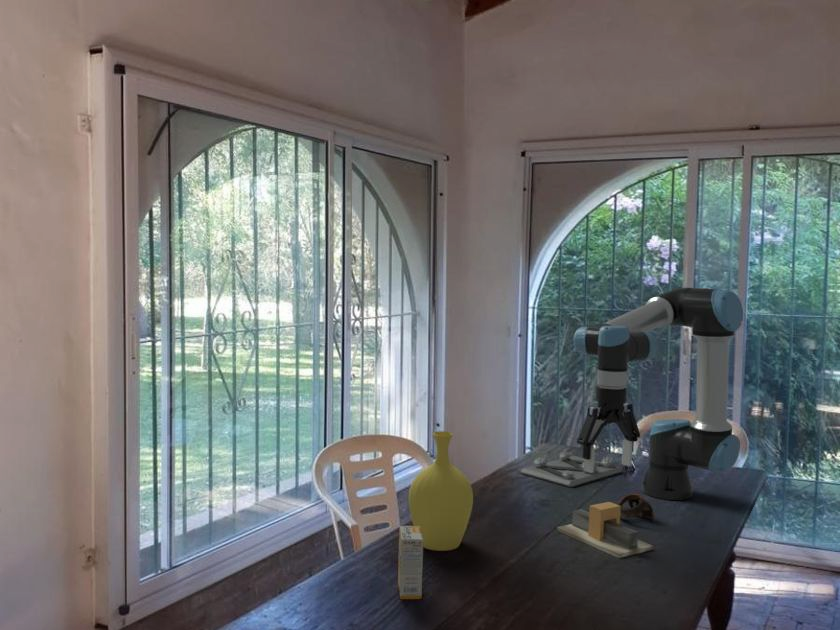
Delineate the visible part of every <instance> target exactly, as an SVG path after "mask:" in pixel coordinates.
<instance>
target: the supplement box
mask: <svg viewBox="0 0 840 630" xmlns="http://www.w3.org/2000/svg"><path fill="white" fill-rule="evenodd" d="M398 530H399V531H398V532H399V535H398V537H399V538H398V562H397V563H398V564H397V565H398V566H397V567H398V568H397V569H398V570H397V571H398V573H397V586H398V590H399V598H400V599H401V600H420V599H422V598H423V597H422V595H423V590H422V589H423V564H424V562H423V560H424V559H423V558H424V547H423V537H422V532H421V528H420V526H413V525H400V526H399V529H398Z"/></svg>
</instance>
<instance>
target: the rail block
mask: <svg viewBox="0 0 840 630" xmlns="http://www.w3.org/2000/svg"><path fill="white" fill-rule="evenodd" d="M556 532H559V533H561V534H564V535H566V536H568V537H570V538H572V539H575V540H577V541H578V542H581V543H584V544H586V545H588V546H590V547H593V548H594V549H597V550H600V551H601V552H604V553H606V554H609V555H610V556H613V557H615V558H617V559H621V558H624V557H625V558H626V557H628V556H633V555H636V554H641V553H645V552H648V551H649V552H650V551H653V549H654V546H653V545H652V544H649V543H647V542H645V541H642V540H640V539H639V531H637V530H634V529H632V528H630V527H627V526H624V525H622V524H621V523H620V524H617V523H615V522H612V521H610V520H605V521H604V529H603V540H601V541H599V540H597V539H594V538H592V537H590V536H588V532H589V511H586V510H584V509H581V508H580V509H576V510H572V523H571V524H565V525H561V526H556Z"/></svg>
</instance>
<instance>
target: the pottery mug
mask: <svg viewBox="0 0 840 630" xmlns="http://www.w3.org/2000/svg"><path fill="white" fill-rule="evenodd" d="M625 503H628V505H629V508H625V507H623V505H624V504H625ZM617 505H619V506H621V509H620V520H622V518H624V519H630V518H635V517H640V518H642V517H647V518H650V519H652V522H653V523H655V522H656V520H655V513H654V510H653V506H652V504H651V503H650V502H649V500H647V499H646V498H644V497H643V496H642V495H641V494H640V493H635V492H633V493H629V494H627V495H625V496H623V497H622V498H621V499H620V500H619V501H618V504H617Z"/></svg>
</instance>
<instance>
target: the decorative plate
mask: <svg viewBox="0 0 840 630" xmlns="http://www.w3.org/2000/svg"><path fill="white" fill-rule="evenodd" d="M602 458H603V459H601V461H597V460H594V473H590V472H587V471H584V458H583V457H580V456H578V455H577V456H576V455H571V454H569V452H568V451H567V452H565V451H563V452H562V451H561V453H560V455H558V459H555V460H551V461H548V460H546V458H544V457H543V458H542V457H538V458H537V457H535V459H534V461H533V465H532V466H526V467H523V468H522V469H521V470H520V473H521V474H522V475H525V476H527V477H530V478H531V477H532V478H535V479H539V480H543V481H546V482H548V483H549V482H550V483H553V484H556V485H560V486H563V487H567V488H574V487H578V486H581V485H584V484H587V483H592V482H595V481H598V479H599V480H602V479H605V478H608V477H607V476H609V477H612V476H615V475H614V474H616V475H618V474H617V473H619V474H621V473H622V472H624V470H623V469H622V467H621V466H618V465H617V463H616V460H615V459H614V458H613V457H610V456H607V457H606V458H605V457H602ZM620 472H621V473H620ZM611 475H612V476H611ZM604 477H605V478H604ZM601 478H602V479H601ZM591 481H592V482H591Z"/></svg>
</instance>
